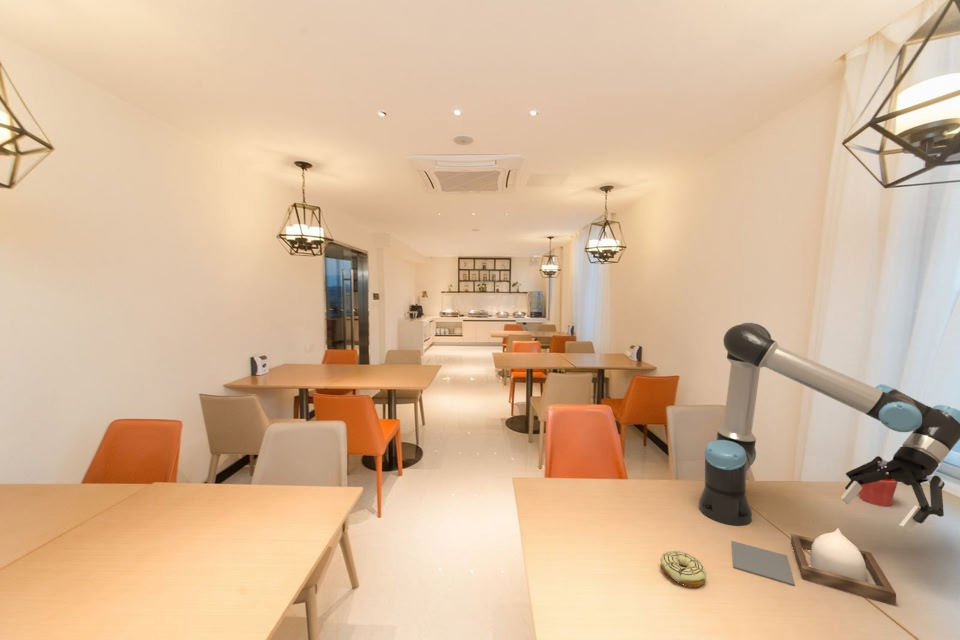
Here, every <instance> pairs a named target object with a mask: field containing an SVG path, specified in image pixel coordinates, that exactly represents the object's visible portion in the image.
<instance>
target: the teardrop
mask: <svg viewBox="0 0 960 640" xmlns="http://www.w3.org/2000/svg"><path fill="white" fill-rule="evenodd" d="M814 539H815V541H814V542H813V544H812V549H811V551H810V559H809V562H810V561H811V562H810V567H812V568H816V569H819V570H823V571H827V572H831V573H834V574H838V575H842V576H845V577H849V578H853V579H856V580H860V581H864V582H868V581H867V579H868V578H867V568H866V564H865V561H864V559H863V557H862V555H861V553H860V551H859V550H860V549H858V547H857V546H856V545H855V544H853V543H852V541H850V540H849V539H848V538H847V537H845V536H844V534H842V532H841V530H840V529H839V527H838V528H837V529H835V531H831V532H827V533H823V534H821V535H819V536H818V537H816V538H814Z"/></svg>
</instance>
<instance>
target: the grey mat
mask: <svg viewBox="0 0 960 640" xmlns="http://www.w3.org/2000/svg"><path fill="white" fill-rule="evenodd" d="M731 552H732V555H733V556H732V567H733V569H736V570H739V571H742V572H746V573H750V574H753V575H756V576H759V577H762V578H766V579H770V580H771V581H772V580H773V581H777V582H778V583H779V582H780V583H784V584H785V585H790V586H793V587H796V584H795V583H796V582H795V579H794V576H793V572H792V568H791V565H790V562H789V559H788V556H787V554H783V553H780V552H776V551H772V550H769V549H764V548H762V547H761V548H760V547H756V546H753V545H750V544H744V543H742V542H739V541H738V542H737V541H735V540H734V541H733V540H731Z"/></svg>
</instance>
